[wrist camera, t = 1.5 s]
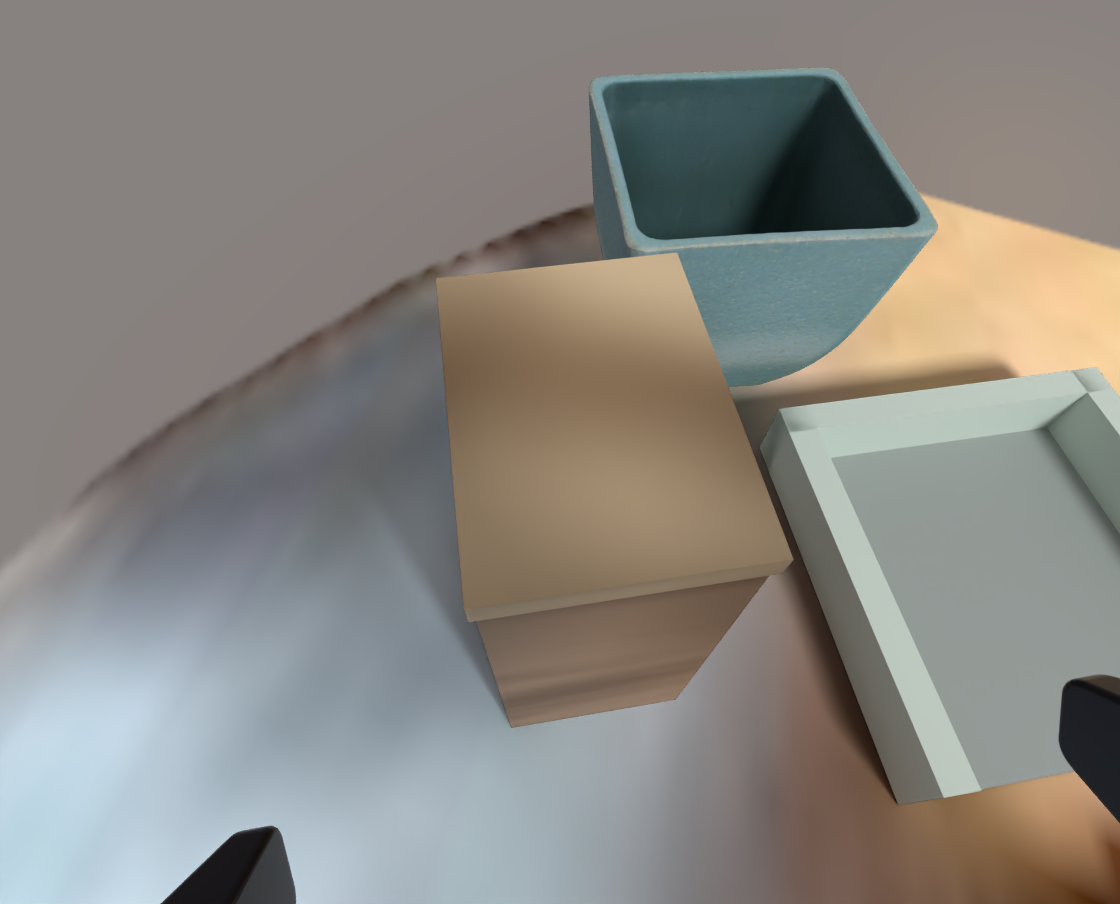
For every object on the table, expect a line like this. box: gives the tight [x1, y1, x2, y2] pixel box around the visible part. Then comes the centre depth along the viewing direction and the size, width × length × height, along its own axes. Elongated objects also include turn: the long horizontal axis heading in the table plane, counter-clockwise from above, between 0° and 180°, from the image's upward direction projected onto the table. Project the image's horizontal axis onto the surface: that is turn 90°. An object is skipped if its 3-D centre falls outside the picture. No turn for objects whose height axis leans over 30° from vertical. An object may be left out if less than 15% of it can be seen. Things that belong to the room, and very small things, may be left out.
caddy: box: [436, 253, 793, 728], centre depth 16 cm, size 7×5×11 cm
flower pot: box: [589, 68, 938, 387], centre depth 23 cm, size 9×9×9 cm
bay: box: [760, 367, 1120, 805], centre depth 21 cm, size 12×12×2 cm
